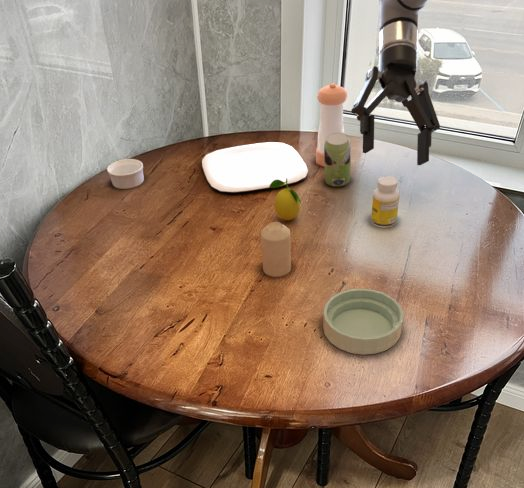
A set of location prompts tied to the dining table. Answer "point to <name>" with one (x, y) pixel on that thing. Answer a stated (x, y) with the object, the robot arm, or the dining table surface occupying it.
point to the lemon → (286, 201)
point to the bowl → (362, 321)
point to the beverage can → (337, 159)
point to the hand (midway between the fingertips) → (396, 157)
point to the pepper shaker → (329, 116)
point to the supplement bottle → (385, 202)
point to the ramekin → (126, 173)
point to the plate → (253, 167)
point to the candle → (276, 249)
